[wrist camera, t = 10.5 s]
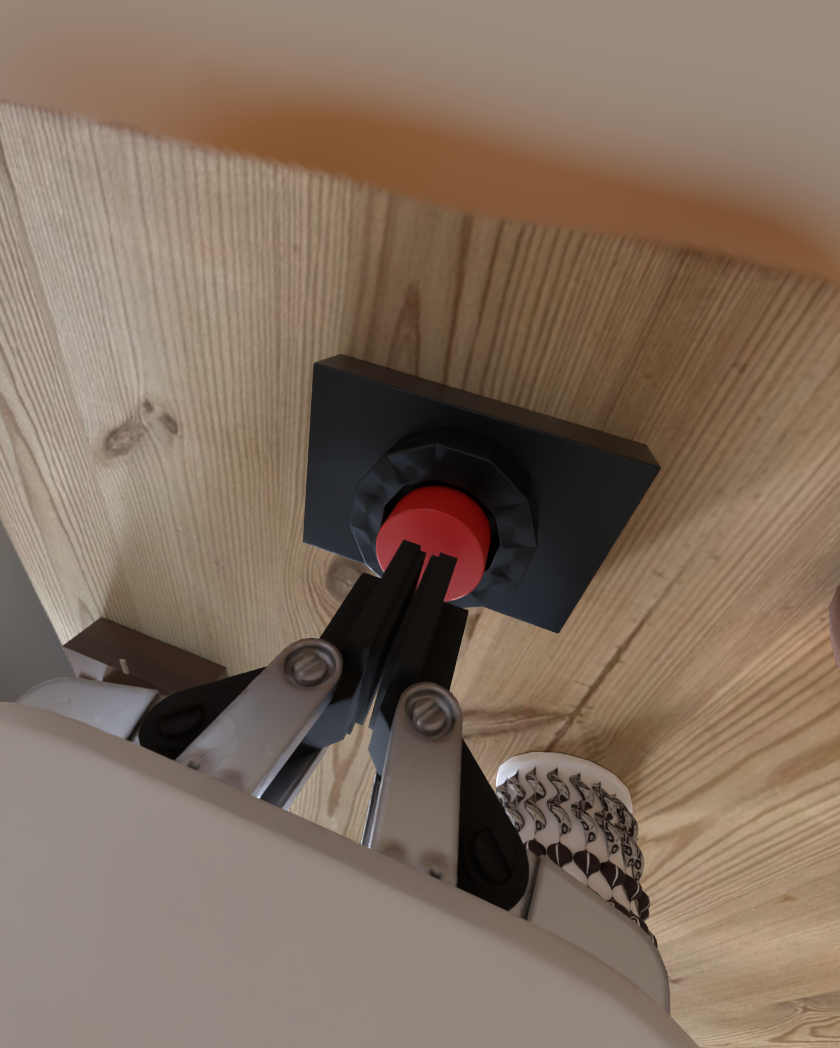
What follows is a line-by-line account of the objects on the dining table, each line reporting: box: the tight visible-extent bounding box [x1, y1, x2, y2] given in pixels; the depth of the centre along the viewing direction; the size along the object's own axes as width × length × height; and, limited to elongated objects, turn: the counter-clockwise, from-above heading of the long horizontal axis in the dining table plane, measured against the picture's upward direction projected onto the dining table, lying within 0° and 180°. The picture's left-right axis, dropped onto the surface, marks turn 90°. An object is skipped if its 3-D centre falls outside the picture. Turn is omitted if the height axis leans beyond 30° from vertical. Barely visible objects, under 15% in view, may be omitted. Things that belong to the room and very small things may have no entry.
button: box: [376, 485, 491, 601], centre depth 13 cm, size 4×4×2 cm
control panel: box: [63, 617, 227, 696], centre depth 32 cm, size 16×11×3 cm
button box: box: [303, 354, 661, 633], centre depth 15 cm, size 8×12×4 cm, turn 78°
